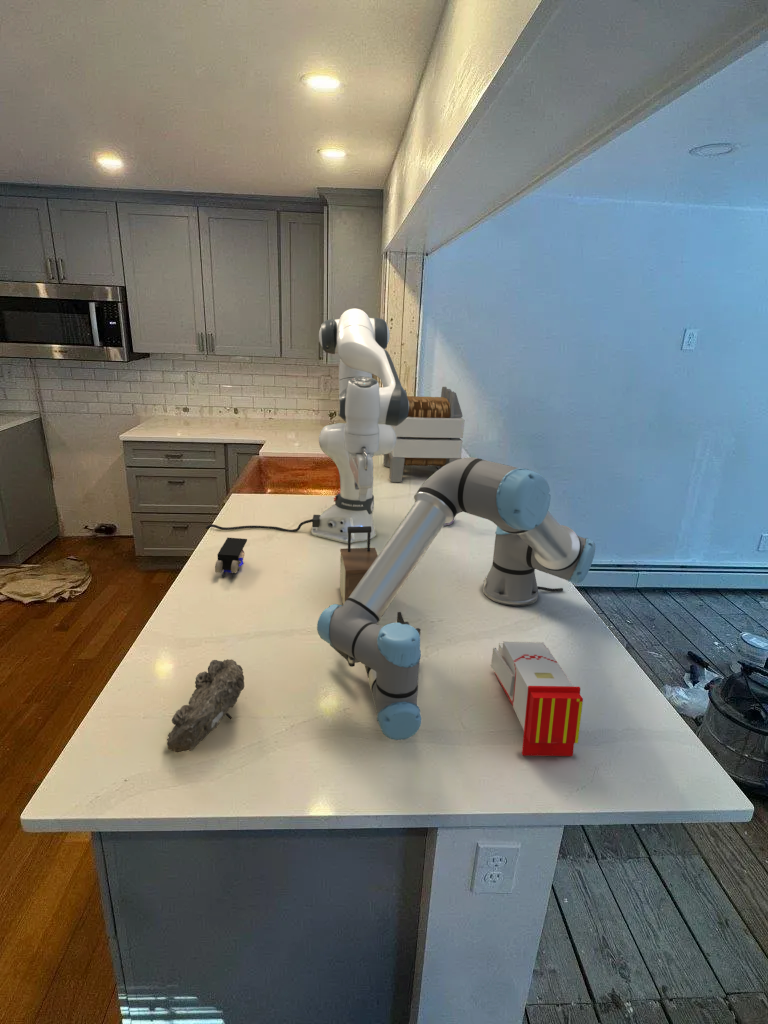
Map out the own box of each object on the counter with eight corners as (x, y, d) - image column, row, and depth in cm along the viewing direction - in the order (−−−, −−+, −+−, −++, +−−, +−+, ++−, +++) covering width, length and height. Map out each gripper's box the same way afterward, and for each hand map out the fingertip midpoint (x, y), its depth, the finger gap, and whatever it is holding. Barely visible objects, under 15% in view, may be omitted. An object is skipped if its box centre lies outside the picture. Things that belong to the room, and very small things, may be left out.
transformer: (382, 463, 289) (386, 382, 275) (445, 464, 293) (451, 384, 279) (390, 482, 257) (394, 392, 243) (460, 483, 261) (468, 394, 247)
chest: (339, 589, 159) (340, 553, 155) (373, 587, 161) (375, 552, 157) (344, 612, 147) (345, 574, 143) (381, 611, 148) (382, 573, 145)
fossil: (192, 660, 117) (244, 628, 112) (224, 691, 120) (276, 661, 115) (142, 746, 98) (202, 712, 93) (182, 779, 101) (242, 748, 96)
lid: (340, 551, 156) (340, 524, 153) (374, 551, 158) (376, 523, 155) (345, 574, 143) (346, 544, 140) (383, 572, 145) (384, 543, 142)
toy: (540, 624, 127) (592, 694, 97) (535, 679, 129) (584, 763, 100) (486, 623, 126) (522, 693, 97) (482, 678, 129) (516, 762, 100)
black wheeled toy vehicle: (238, 584, 162) (249, 557, 175) (236, 562, 158) (247, 536, 172) (215, 584, 161) (227, 556, 175) (212, 561, 158) (225, 535, 171)
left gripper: (380, 452, 135) (378, 507, 140) (368, 434, 154) (366, 483, 159) (353, 452, 134) (352, 507, 139) (345, 434, 153) (344, 483, 158)
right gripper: (323, 694, 112) (316, 635, 131) (445, 684, 116) (421, 629, 136) (323, 662, 109) (316, 607, 129) (448, 653, 114) (423, 601, 133)
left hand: (360, 494), depth 149 cm, fingers open, 8 cm apart
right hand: (370, 618), depth 132 cm, fingers open, 13 cm apart
